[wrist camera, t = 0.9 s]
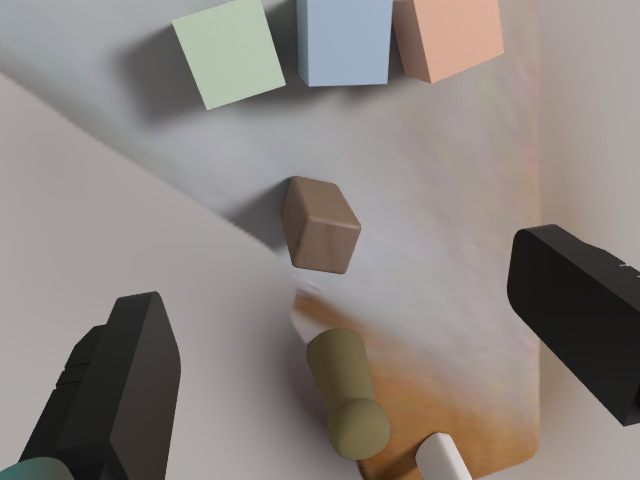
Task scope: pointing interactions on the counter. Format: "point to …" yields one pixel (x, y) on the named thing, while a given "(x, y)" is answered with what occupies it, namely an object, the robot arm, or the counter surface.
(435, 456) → the eye dropper bottle
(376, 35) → the slate blue cube
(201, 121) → the counter surface
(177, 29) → the sage cube
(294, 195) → the wooden block
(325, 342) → the olive pawn
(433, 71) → the terracotta cube
